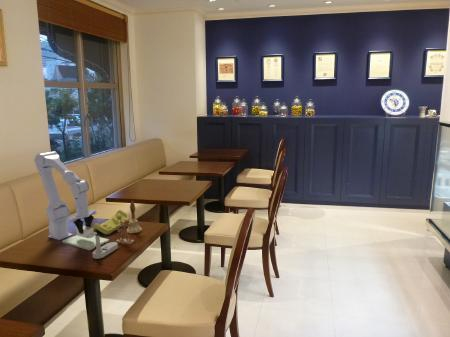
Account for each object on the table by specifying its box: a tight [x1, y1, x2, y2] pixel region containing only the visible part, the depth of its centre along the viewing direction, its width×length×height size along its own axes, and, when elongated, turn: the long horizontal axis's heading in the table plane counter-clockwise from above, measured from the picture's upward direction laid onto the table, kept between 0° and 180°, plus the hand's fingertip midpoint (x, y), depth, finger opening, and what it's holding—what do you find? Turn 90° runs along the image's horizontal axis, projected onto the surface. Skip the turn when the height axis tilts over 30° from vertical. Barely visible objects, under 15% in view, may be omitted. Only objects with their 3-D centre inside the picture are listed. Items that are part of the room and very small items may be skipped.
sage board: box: [62, 234, 110, 251], centre depth 185 cm, size 20×12×1 cm, turn 58°
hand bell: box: [127, 200, 143, 234], centre depth 198 cm, size 8×8×16 cm
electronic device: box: [92, 235, 119, 260], centre depth 171 cm, size 5×10×15 cm
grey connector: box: [75, 225, 98, 238], centre depth 184 cm, size 13×4×4 cm, turn 58°
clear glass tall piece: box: [115, 219, 136, 246], centre depth 182 cm, size 9×4×12 cm, turn 69°
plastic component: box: [92, 209, 129, 235], centre depth 204 cm, size 20×7×10 cm
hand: (84, 232), depth 184 cm, fingers closed on grey connector, 4 cm apart
